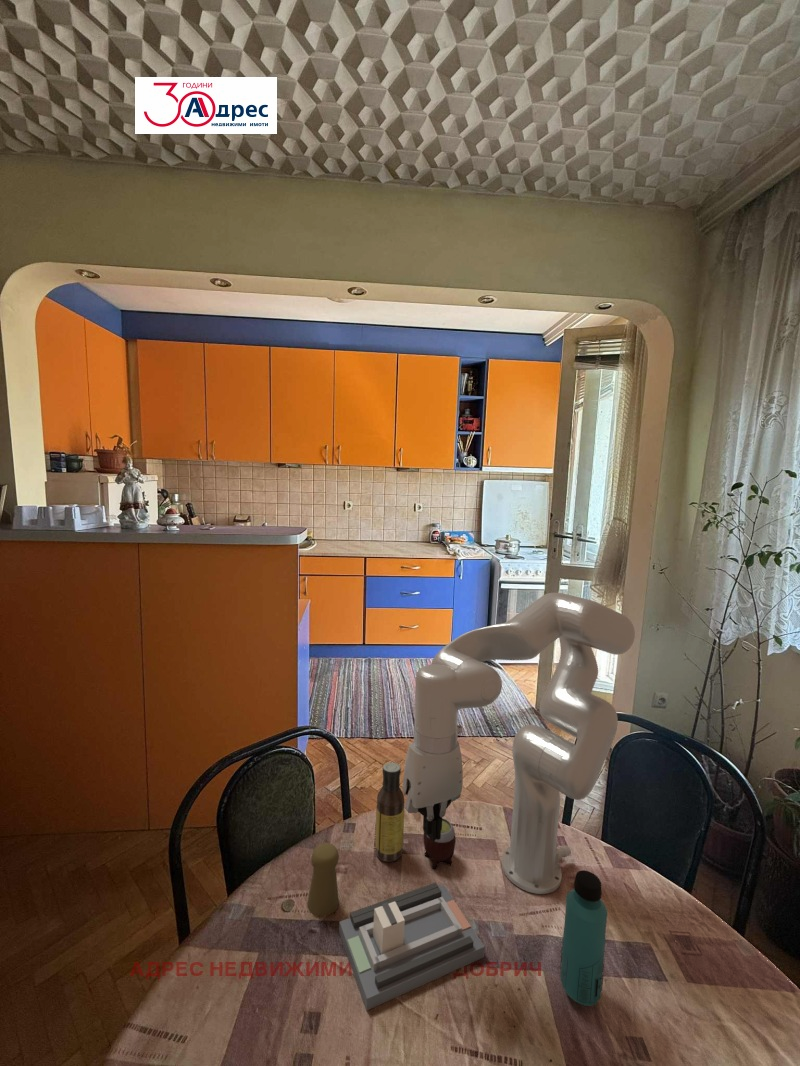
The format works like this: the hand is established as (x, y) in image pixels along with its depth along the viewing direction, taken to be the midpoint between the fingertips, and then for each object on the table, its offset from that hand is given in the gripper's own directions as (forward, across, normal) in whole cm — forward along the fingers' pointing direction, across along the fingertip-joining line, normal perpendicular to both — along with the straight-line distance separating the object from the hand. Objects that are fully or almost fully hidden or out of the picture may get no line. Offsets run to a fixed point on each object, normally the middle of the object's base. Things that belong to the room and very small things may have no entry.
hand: (432, 834), depth 82 cm
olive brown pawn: (+19, +16, -14) cm, 29 cm away
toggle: (+17, +8, 0) cm, 19 cm away
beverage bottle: (+20, -18, +18) cm, 33 cm away
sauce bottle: (+20, -1, -21) cm, 29 cm away
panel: (+19, +4, 0) cm, 20 cm away
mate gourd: (+20, -10, -15) cm, 27 cm away
